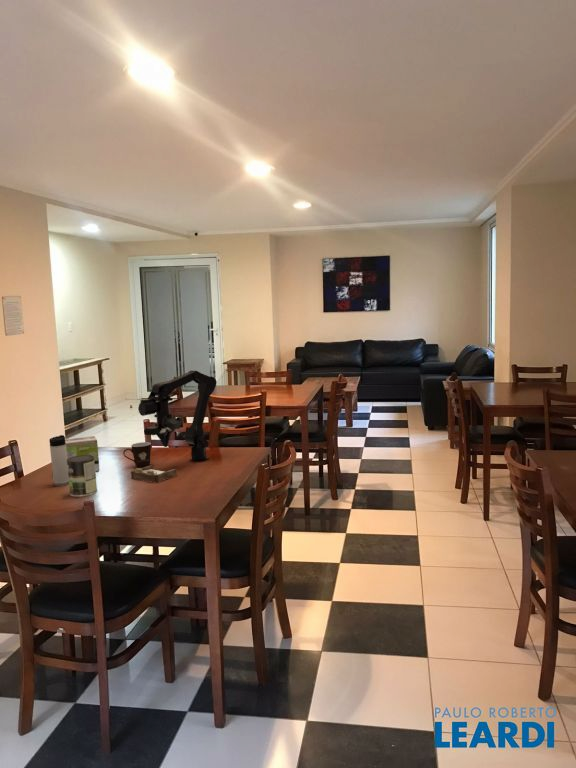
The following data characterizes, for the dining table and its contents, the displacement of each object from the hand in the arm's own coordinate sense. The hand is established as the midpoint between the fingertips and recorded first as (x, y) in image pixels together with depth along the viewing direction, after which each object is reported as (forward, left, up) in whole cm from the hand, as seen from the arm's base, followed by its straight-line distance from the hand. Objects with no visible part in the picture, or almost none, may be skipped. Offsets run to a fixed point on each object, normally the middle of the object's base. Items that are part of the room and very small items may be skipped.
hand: (165, 446), depth 272 cm
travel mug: (+37, -24, -10) cm, 45 cm away
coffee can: (+41, -4, -10) cm, 42 cm away
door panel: (+14, +6, -10) cm, 18 cm away
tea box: (+21, -33, -10) cm, 40 cm away
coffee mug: (+3, -15, -10) cm, 18 cm away
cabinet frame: (+13, +6, -10) cm, 17 cm away
